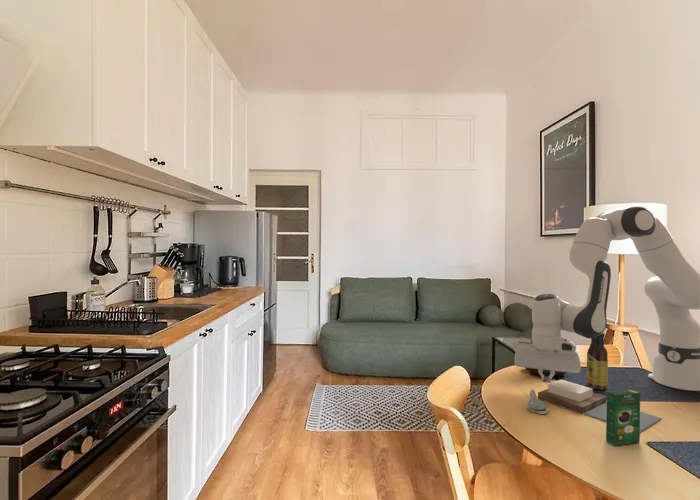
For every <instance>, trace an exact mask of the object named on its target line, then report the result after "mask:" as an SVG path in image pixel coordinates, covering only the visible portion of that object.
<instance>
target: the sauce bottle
mask: <svg viewBox="0 0 700 500" xmlns="http://www.w3.org/2000/svg"><path fill="white" fill-rule="evenodd" d="M608 366H609V360H608V350H607V348H606V346H605V332H603V333H602V334H601V335H599V336H597V337H596V338H592V339H591V341H590V345H589V347H588V349H587V352H586V382H587V383H586V384H587V387H589V388H593V389H594V390H602V391H603V390H604V391H605V390H606V389H607V388H608V376H609V373H608V372H609V367H608Z"/></svg>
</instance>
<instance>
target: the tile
mask: <svg viewBox="0 0 700 500" xmlns="http://www.w3.org/2000/svg"><path fill="white" fill-rule="evenodd" d="M547 389H548V392H551V393H554V394H557V395H560V396H563V397H566V398H569V399H573V400H576V401H579V402H581V401H583V400H585V399H588V398H590V397H592V396H593V393H594V391H593V389H594V388H591V387H589V386H585V385H582V384H578V383H576V382H571V381H568V380H565V379H559V380H556V381H554V382H551V383H548V385H547Z"/></svg>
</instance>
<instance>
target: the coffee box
mask: <svg viewBox="0 0 700 500" xmlns="http://www.w3.org/2000/svg"><path fill="white" fill-rule="evenodd" d="M606 402H607V419H606V422H605V423H606V424H605V427H606V428H605V431H606V432H605V442H606V443H608V444H610V445H611V446H614V447H616V446H623V445H624V446H625V445H633V444H638V443H640V439H641V436H640V435H641V434H640V412H641V392H639V391H637V390H634V389H631V388H630V389H629V388H628V389H619V390H607V391H606Z"/></svg>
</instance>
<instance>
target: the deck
mask: <svg viewBox="0 0 700 500" xmlns="http://www.w3.org/2000/svg"><path fill="white" fill-rule="evenodd" d="M537 399H539V400H540V401H542V402H547V403H549V404H552V405H556V406H559V407H562V408H564V409H567V410H570V411H573V412H576V413H580V414H582V415H584V413H585V412H587V411H589V410H591V409H593V408H595V407H597V406H599V405H602V404H604V403H606V402H607V395H603V394H599V393H596V392H593V396H592V397H590V398H588V399H585V400H583V401H581V402H579V401H576V400H573V399H569V398H566V397H563V396H560V395H557V394H554V393H551V392H548V388H546V389H544V390H540V391H539V392H537Z"/></svg>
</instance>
